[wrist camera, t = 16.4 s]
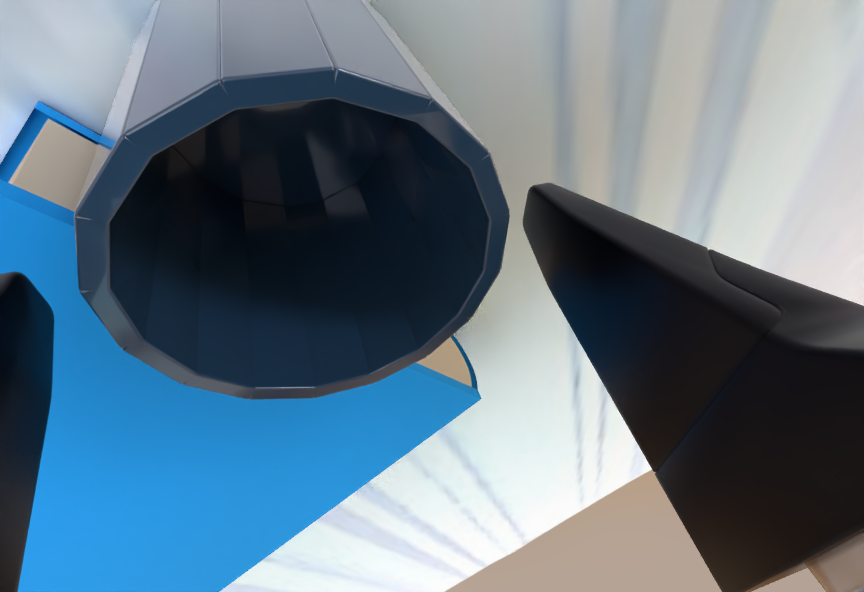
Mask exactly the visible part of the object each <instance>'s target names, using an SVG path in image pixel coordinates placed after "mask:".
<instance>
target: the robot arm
mask: <svg viewBox="0 0 864 592" xmlns="http://www.w3.org/2000/svg"><path fill="white" fill-rule="evenodd" d="M523 227H524V231H525V233H526V236H527V238H528V240H529V243H530V245H531V248H532V250H533V252H534V255H535V257H536V259H537V262H538V264H539V267H540V269H541V271H542V274H543V276H544V278H545V281H546V283H547V285H548V287H549V289H550V291H551V293H552V295H553V296H554V298H555V300H556V302H557V303H558V305H559V307H560V309H561V310H562V312H563V314H564V316H565V317H566V319H567V321H568V323H569V324H570V326H571V328H572V330H573V331H574V333H575V335H576V337H577V338H578V340H579V342H580V344H581V345H582V347H583V349H584V351H585V352H586V354H587V356H588V358H589V359H590V361H591V363H592V365H593V366H594V368H595V370H596V372H597V373H598V375H599V377H600V379H601V380H602V382H603V384H604V386H605V387H606V389H607V391H608V393H609V394H610V396H611V398H612V400H613V401H614V403H615V405H616V407H617V408H618V410H619V412H620V414H621V415H622V417H623V419H624V421H625V422H626V424H627V426H628V428H629V429H630V431H631V433H632V435H633V436H634V438H635V440H636V442H637V443H638V445H639V447H640V449H641V450H642V452H643V454H644V456H645V457H646V459H647V461H648V463H649V464H650V466H651V468H652V470H653V471H654V472H656V473H655V475H656V477H657V479H658V481H659V483H660V484H661V486H662V488H663V489H664V491H665V493H666V495H667V497H668V498H669V500H670V502H671V503H672V505H673V507H674V509H675V510H676V512H677V514H678V516H679V518H680V519H681V521H682V523H683V525H684V526H685V528H686V530H687V531H688V533H689V535H690V537H691V538H692V540H693V542H694V544H695V545H696V547H697V549H698V551H699V552H700V554H701V556H702V558H703V559H704V561H705V563H706V565H707V566H708V568H709V570H710V572H711V573H712V575H713V577H714V578H715V580H716V582H717V584H718V586H719V587H720V589H721V590H722V592H751V591H753V590H755V589H758V588H760V587H763V586H765V585H767V584H770V583H772V582H774V581H777V580H779V579H782V578H784V577H786V576H789V575H791V574H794V573H796V572H798V571H801V570H803V569H805V568H808V569H809V570H810V571H811V573H812V574H813V575H814V576H815V578H816V579H817V580H818V582H819V583H820V584H821V585H822V587H823V588H824V589H825V591H826V592H864V306H862V305H860V304H857V303H854V302H851V301H848V300H845V299H842V298H840V297H837V296H834V295H831V294H828V293H825V292H823V291H820V290H817V289H814V288H811V287H808V286H805V285H803V284H800V283H797V282H794V281H791V280H788V279H786V278H783V277H780V276H777V275H775V274H772V273H769V272H766V271H764V270H761V269H758V268H756V267H753V266H751V265H748V264H746V263H743V262H741V261H738V260H735V259H733V258H730V257H728V256H726V255H723V254H721V253H718V252H716V251H714V250H708V249H707V248H706V247H704V246H701V245H699V244H697V243H694V242H692V241H689V240H687V239H685V238H682V237H680V236H677V235H675V234H672V233H670V232H668V231H665V230H663V229H660V228H658V227H656V226H653V225H651V224H648V223H646V222H644V221H641V220H639V219H636V218H634V217H632V216H629V215H627V214H624V213H622V212H620V211H617V210H615V209H612V208H610V207H607V206H605V205H603V204H600V203H598V202H595V201H593V200H591V199H588V198H586V197H583V196H581V195H579V194H576V193H574V192H571V191H569V190H567V189H564V188H562V187H559V186H557V185H555V184H552V183H544V184H538V185H533V186H532V187H530V189H529V191H528V194H527V200H526V205H525V210H524V216H523ZM53 350H54V314H53V310H52V308H51V306H50V305H49V303H48V302H47V301H46V300H45V298H44V297H43V296H42V295H41V293H40V292H39V291H38V290H37V289H36V287H35V286H34V285H33V284H32V282H31V281H30V280H29V279H28V278H27V277H26V275H24V274H23V273H20V272H16V271H14V272H8V273H2V274H0V592H18V587H19V581H20V575H21V570H22V564H23V558H24V553H25V547H26V541H27V536H28V530H29V524H30V519H31V513H32V507H33V502H34V496H35V490H36V485H37V479H38V473H39V468H40V462H41V456H42V451H43V445H44V439H45V433H46V428H47V422H48V416H49V411H50V404H51V397H52V382H53Z"/></svg>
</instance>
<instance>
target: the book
mask: <svg viewBox="0 0 864 592" xmlns="http://www.w3.org/2000/svg"><path fill="white" fill-rule="evenodd" d="M100 138H101V136H100V135H98V134H97V133H95V132H93V131H91V130H89V129H88V128H86V127H84V126H82V125H80V124H79V123H77V122H75V121H73V120H71V119H70V118H68V117H66V116H64V115H62V114H61V113H59V112H57V111H55V110H53V109H51V108H50V107H48V106H46V105H44V104H42V103H41V102H38V103H37V105H36V107H35V108H34V110H33V111H32V113H31V115H30V116H29V118H28V120H27V121H26V123H25V125H24V126H23V128H22V130H21V131H20V133H19V135H18V136H17V138H16V139H15V141H14V143H13V144H12V146H11V148H10V149H9V151H8V153H7V154H6V156H5V158H4V159H3V161H2V162H1V164H0V274H2V273H8V272H14V271H16V272H20V273H23V274H24V275H26V277H27V278H28V279H29V280H30V281H31V282H32V284H33V285H34V286H35V287H36V289H37V290H38V291H39V292H40V293H41V295H42V296H43V297H44V298H45V300H46V301H47V302H48V303H49V305H50V306H51V308H52V310H53V314H54V350H53V382H52V397H51V404H50V411H49V416H48V422H47V428H46V433H45V439H44V445H43V451H42V456H41V462H40V468H39V473H38V479H37V485H36V490H35V496H34V502H33V507H32V513H31V519H30V524H29V530H28V536H27V541H26V547H25V553H24V558H23V564H22V570H21V575H20V581H19V587H18V592H219V591H221V590H222V589H223V588H225V587H226V586H227V585H229V584H230V583H231V582H233V581H234V580H236V579H237V578H238V577H240V576H241V575H242V574H244V573H245V572H246V571H248V570H249V569H251V568H252V567H253V566H255V565H256V564H257V563H259V562H260V561H261V560H263V559H264V558H265V557H267V556H268V555H270V554H271V553H272V552H274V551H275V550H276V549H278V548H279V547H280V546H282V545H283V544H284V543H286V542H287V541H289V540H290V539H291V538H293V537H294V536H295V535H297V534H298V533H299V532H301V531H302V530H304V529H305V528H306V527H308V526H309V525H310V524H312V523H313V522H314V521H316V520H317V519H318V518H320V517H321V516H323V515H324V514H325V513H327V512H328V511H329V510H331V509H332V508H333V507H335V506H336V505H338V504H339V503H340V502H342V501H343V500H344V499H346V498H347V497H348V496H350V495H351V494H352V493H354V492H355V491H357V490H358V489H359V488H361V487H362V486H363V485H365V484H366V483H367V482H369V481H370V480H371V479H373V478H374V477H376V476H377V475H378V474H380V473H381V472H382V471H384V470H385V469H386V468H388V467H389V466H391V465H392V464H393V463H395V462H396V461H397V460H399V459H400V458H401V457H403V456H404V455H405V454H407V453H408V452H410V451H411V450H412V449H414V448H415V447H416V446H418V445H419V444H420V443H422V442H423V441H425V440H426V439H427V438H429V437H430V436H431V435H433V434H434V433H435V432H437V431H438V430H439V429H441V428H442V427H444V426H445V425H446V424H448V423H449V422H450V421H452V420H453V419H454V418H456V417H457V416H459V415H460V414H461V413H463V412H464V411H465V410H467V409H468V408H469V407H471V406H472V405H473V404H475V403H476V402H478V401H479V400H480V399H481V397H480V394H479V392H478V390H477V380H476V376H475V373H474V370H473V367H472V365H471V363H470V361H469V359H468V357H467V355H466V353H465V352H464V350H463V348H462V347H461V345H460V344H459V342H458V341H457V340H456V338H455V337H454V336H453V335H452V336H451V337H450V338H449V339H448V340H446V341H445V342H444V343H443V344H442V345H441V346H439V347H438V348H437V349H436V350H435V351H434V352H433V353H431V354H430V355H429V356H427V357H426V358H424V359H422V360H420V361H418V362H416V363H414V364H412V365H410V366H408V367H406V368H404V369H402V370H400V371H398V372H396V373H394V374H392V375H390V376H388V377H386V378H384V379H382V380H380V381H378V382H376V383H375V382H374V383H373V384H370V385H366V386H362V387H358V388H354V389H350V390H346V391H342V392H338V393H334V394H330V395H326V396H322V397H318V398H315V397H314V398H309V399H263V400H250V399H243V398H238V397H234V396H229V395H225V394H220V393H216V392H212V391H207V390H203V389H198V388H194V387H190V386H185V385H183V384H180V383H178V382H176V381H175V380H173V379H171V378H169V377H168V376H166V375H164V374H163V373H161V372H159V371H157V370H156V369H154V368H152V367H151V366H149V365H147V364H145V363H144V362H142V361H140V360H138V359H137V358H135V357H133V356H132V355H130V354H128V353H126V352H125V351H123V350H122V348H120V347H119V346H118V344H117V343H116V342H115V340H114V339H113V338H112V336H111V335H110V333H109V332H108V331H107V329H106V328H105V326H104V325H103V324H102V322H101V321H100V320H99V318H98V317H97V315H96V314H95V313H94V311H93V310H92V309H91V307H90V306H89V304H88V303H87V302H86V300H85V299H84V298H83V296H82V295H81V293H80V290H79V288H78V276H77V261H76V245H75V230H74V213H75V208H76V206H77V203H78V200H79V197H80V194H81V191H82V189H83V186H84V183H85V180H86V177H87V174H88V172H89V169H90V166H91V163H92V160H93V158H94V155H95V152H96V149H97V146H98V143H99V141H100Z"/></svg>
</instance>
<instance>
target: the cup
mask: <svg viewBox="0 0 864 592" xmlns="http://www.w3.org/2000/svg"><path fill="white" fill-rule="evenodd" d="M509 216H510V215H509V208H508V205H507V202H506V199H505V196H504V193H503V190H502V187H501V184H500V181H499V178H498V175H497V172H496V169H495V166H494V163H493V159H492V156H491V154H490V152H489V151H488V149H487V148H486V146H485V145H484V144H483V143H482V141H481V140H480V139H479V137H478V136H477V135H476V134H475V132H474V131H473V130H472V129H471V127H470V126H469V125H468V123H467V122H466V121H465V120H464V118H463V117H462V116H461V115H460V113H459V112H458V111H457V109H456V108H455V107H454V106H453V104H452V103H451V102H450V101H449V99H448V98H447V97H446V96H445V94H444V93H443V92H442V90H441V89H440V88H439V87H438V85H437V84H436V83H435V82H434V80H433V79H432V78H431V76H430V75H429V74H428V73H427V71H426V70H425V69H424V68H423V66H422V65H421V64H420V62H419V61H418V60H417V59H416V57H415V56H414V55H413V54H412V52H411V51H410V50H409V48H408V47H407V46H406V45H405V43H404V42H403V41H402V40H401V38H400V37H399V36H398V34H397V33H396V32H395V31H394V29H393V28H392V27H391V26H390V24H389V23H388V22H387V21H386V19H385V18H384V17H383V16H382V15H381V14H380V13H379V12H378V11H377V10H376V9H375V8H374V7H373V6H372V5H371V4H370V3H369V2H368V0H156V1H155V2H154V4H153V5H152V7H151V9H150V11H149V14H148V16H147V18H146V20H145V22H144V24H143V26H142V28H141V29H140V31H139V33H138V35H137V37H136V39H135V41H134V44H133V47H132V50H131V53H130V56H129V58H128V61H127V64H126V67H125V70H124V73H123V75H122V78H121V81H120V84H119V87H118V90H117V92H116V95H115V98H114V101H113V104H112V107H111V109H110V112H109V115H108V118H107V121H106V124H105V126H104V129H103V132H102V135H101V138H100V141H99V143H98V146H97V149H96V152H95V155H94V158H93V160H92V163H91V166H90V169H89V172H88V174H87V177H86V180H85V183H84V186H83V189H82V191H81V194H80V197H79V200H78V203H77V206H76V208H75V213H74V230H75V245H76V261H77V276H78V288H79V290H80V293H81V295H82V296H83V298H84V299H85V300H86V302H87V303H88V304H89V306H90V307H91V309H92V310H93V311H94V313H95V314H96V315H97V317H98V318H99V320H100V321H101V322H102V324H103V325H104V326H105V328H106V329H107V331H108V332H109V333H110V335H111V336H112V338H113V339H114V340H115V342H116V343H117V344H118V346H119V347H120V348H122V350H123V351H125V352H126V353H128V354H130V355H132V356H133V357H135V358H137V359H138V360H140V361H142V362H144V363H145V364H147V365H149V366H151V367H152V368H154V369H156V370H157V371H159V372H161V373H163V374H164V375H166V376H168V377H169V378H171V379H173V380H175V381H176V382H178V383H180V384H183V385H185V386H190V387H194V388H198V389H203V390H207V391H212V392H216V393H220V394H225V395H229V396H234V397H238V398H243V399H250V400H263V399H309V398H314V397H315V398H318V397H322V396H326V395H330V394H334V393H338V392H342V391H346V390H350V389H354V388H358V387H362V386H366V385H370V384H373V383H374V382H375V383H376V382H378V381H380V380H382V379H384V378H386V377H388V376H390V375H392V374H394V373H396V372H398V371H400V370H402V369H404V368H406V367H408V366H410V365H412V364H414V363H416V362H418V361H420V360H422V359H424V358H426V357H427V356H429V355H430V354H431V353H433V352H434V351H435V350H436V349H437V348H438V347H439V346H441V345H442V344H443V343H444V342H445V341H446V340H448V339H449V338H450V337H451V336H452V335H453V334H454V333H456V332H457V331H458V330H459V329H460V328H461V327H462V326H464V325H465V324H466V323H467V322H468V321H469V320H470V319H471V318H472V317H473V315H474V314H475V312H476V310H477V309H478V307H479V305H480V304H481V302H482V301H483V299H484V297H485V296H486V294H487V292H488V291H489V289H490V287H491V286H492V284H493V283H494V281H495V279H496V278H497V276H498V274H499V273H500V270H501V267H502V260H503V254H504V248H505V242H506V235H507V229H508V223H509Z"/></svg>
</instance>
